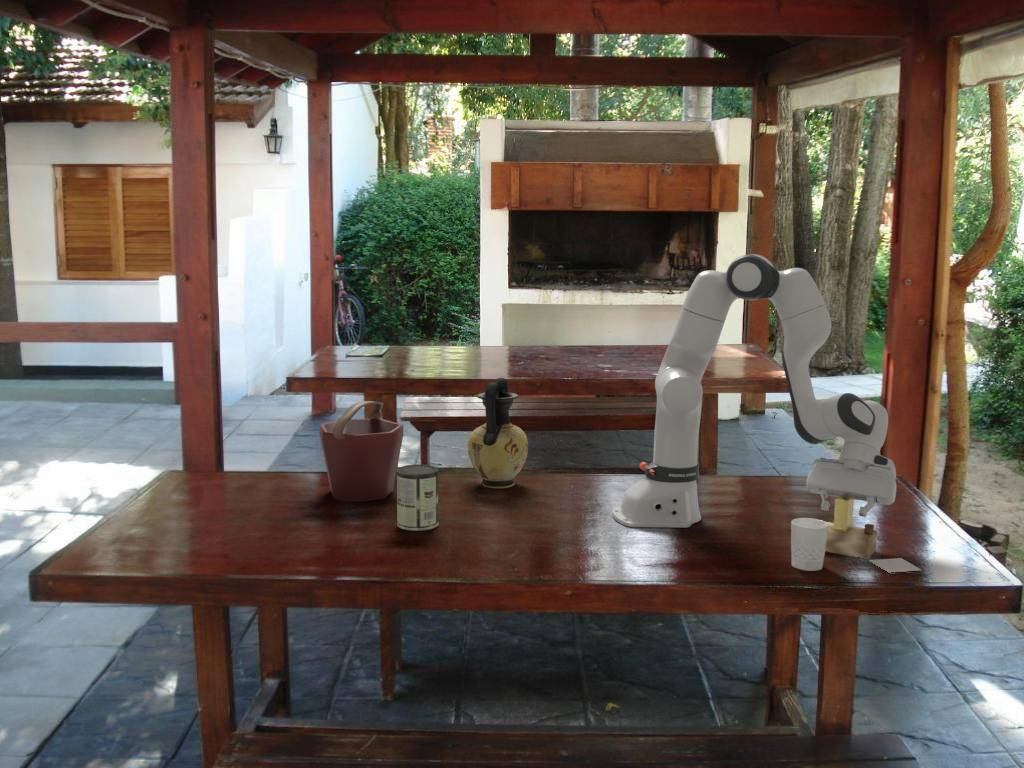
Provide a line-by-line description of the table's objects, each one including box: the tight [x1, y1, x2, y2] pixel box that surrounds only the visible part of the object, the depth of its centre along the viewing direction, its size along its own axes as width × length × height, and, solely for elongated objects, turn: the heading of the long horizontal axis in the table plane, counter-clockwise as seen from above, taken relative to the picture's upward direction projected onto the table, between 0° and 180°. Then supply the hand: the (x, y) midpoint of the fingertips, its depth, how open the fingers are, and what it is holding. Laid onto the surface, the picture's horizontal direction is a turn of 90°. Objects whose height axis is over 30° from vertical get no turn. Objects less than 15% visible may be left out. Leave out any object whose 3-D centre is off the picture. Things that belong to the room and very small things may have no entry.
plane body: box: [825, 521, 878, 560], centre depth 250 cm, size 14×7×7 cm, turn 57°
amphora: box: [467, 377, 529, 489], centre depth 301 cm, size 18×17×30 cm
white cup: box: [790, 517, 828, 572], centre depth 238 cm, size 8×8×10 cm
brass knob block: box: [833, 494, 855, 532], centre depth 249 cm, size 3×4×8 cm, turn 147°
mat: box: [868, 557, 922, 574], centre depth 239 cm, size 8×8×1 cm
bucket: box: [318, 400, 404, 503], centre depth 290 cm, size 24×22×25 cm
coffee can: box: [396, 464, 439, 532], centre depth 264 cm, size 10×10×14 cm
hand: (843, 512), depth 249 cm, fingers open, 7 cm apart
